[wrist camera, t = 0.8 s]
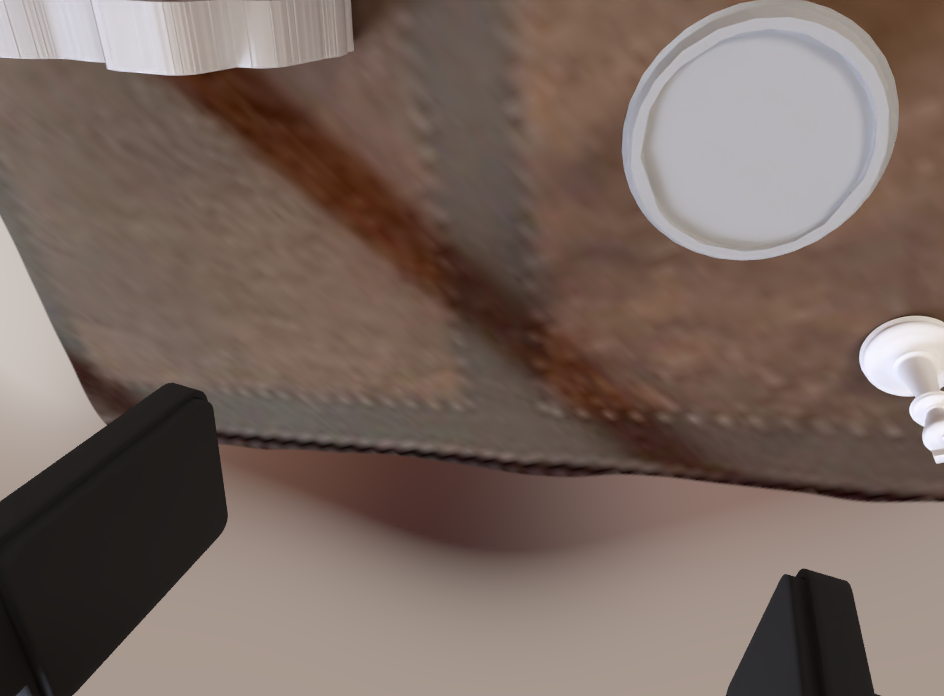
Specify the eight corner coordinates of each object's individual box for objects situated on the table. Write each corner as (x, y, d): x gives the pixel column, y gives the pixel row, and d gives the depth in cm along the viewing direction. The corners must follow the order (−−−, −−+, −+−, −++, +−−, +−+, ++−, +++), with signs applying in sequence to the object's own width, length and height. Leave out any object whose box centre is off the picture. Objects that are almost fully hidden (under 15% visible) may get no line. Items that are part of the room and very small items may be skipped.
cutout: (243, 6, 25) (-245, -19, 30) (253, 81, 27) (-215, 46, 32) (382, -8, 38) (23, -24, 43) (384, 44, 39) (36, 23, 44)
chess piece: (971, 378, 36) (1042, 497, 28) (872, 400, 39) (911, 516, 31) (949, 303, 35) (1017, 405, 27) (848, 331, 37) (882, 433, 29)
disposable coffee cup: (669, -19, 32) (645, -13, 22) (882, -1, 30) (960, 15, 20) (632, 173, 37) (598, 247, 27) (811, 201, 35) (846, 293, 25)
